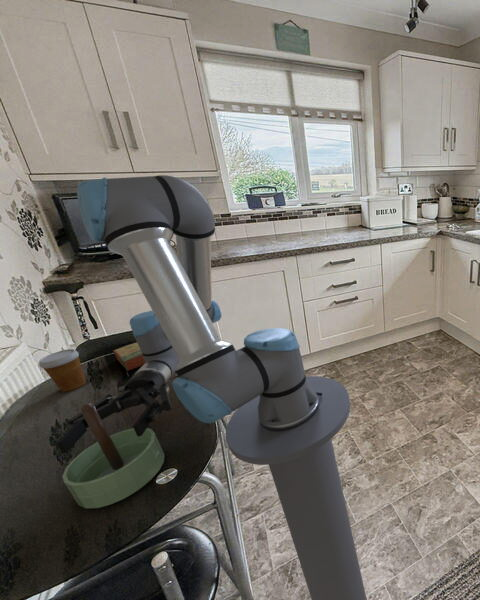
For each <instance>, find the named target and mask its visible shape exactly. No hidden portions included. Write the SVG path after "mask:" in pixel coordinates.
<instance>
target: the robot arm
mask: <svg viewBox="0 0 480 600" xmlns="http://www.w3.org/2000/svg"><path fill="white" fill-rule="evenodd" d="M76 196H77V197H76V198H77V203H78V208H79V212H80V216H81V220H82V222H83V225H84V228H85V231H86V233H87V235H88V237H89V238H90V240H91V241H92V242H94V243H103V242H104V243H105V245H106V246H107V249H108V251H110V252H111V253H113V254H117V255H121V256H122V257H123V259H124V261H125V263H126V265H127V267H128V268H129V270H130V272H131V274H132V276H133V277H134V280H135V282H136V283H137V286H138V287H139V289H140V291H141V293H142V294H143V296H144V298H145V299H146V302H147V303H148V305H149V307H150V309H151V310H149V311H143V312H141V313H138V314H136V315H134V316H132V317H131V318H130V319H129V325H130V326H129V327H130V329H131V331H132V336H133V337H134V339H135V340H136V342H137V343H138V345H139V347H140V350H141V352H142V355H143V357H144V360H145V364H144V365H142V366H140V368H139V369H138V370H137V371H136V372H135V373H134V374H133V375H132V376H131V377H130V378H129V380H127V382H126V383H125V385H124V388H123V391H122V392H120V393H119V394H118V395H116V396H112V394H111V393H110V394H106V395H105V396H104V397H102V398H101V400H99V401H96V403H95V402H94V403H93V405H94V407H95V409H96V411H97V412H98V414H99V416H100V418H101V420H102V421H103V420H104V419H105V418H108V417H110V416H112V415H113V414H115V413H116V414H118V413H121V412H122V411H124V410H126V409H130V408H132V407H138V406H140V405H144V406H145V407H146V408H145V409H144V410H143V412H142V414H141V415H139V417H138V419H137V420H136V421H135V423H134V424H133V426H132V428H134V430H135V432H136V434H137V436H142V435H143V433H144V432H145V430H146V429H147V428H148V427H149V426H150V424H151V423H152V422H154V421H156V419H157V417H158V416H159V415H160V414H162V413H163V412H164V411H166V412H168V411H171V410H173V407H172V403H171V400H170V397H169V395H170V393H171V390H170V387H169V385H168V382H169V381H170V379H171V378H172V377H173V376H174V374H175V373H176V375H177V377H176V378H175V379H174V380H173V381H172V385H171V386H172V389H173V391H174V393H175V395H176V397H177V399H178V400H179V401H180V403H181V404H182V405H183V406H184V408H185V409H186V410H187V411H188V412H189V413H190V414H191V415H192V416H193V417H194V418H195V419H197V420H198V421H199V422H201V423H204V424H213V423H216V422H217V421H220V420H221V419H223V418H225V417H227V416H230V415H232V413H234V412H235V411H236V410H237V409H238V408H239V407H241V406H243V405H244V404H246V403H248V402H249V401H251V400H253V399H254V398H256V397H257V396H259V395H260V400H259V405H258V408H259V411H258V417H259V420H260V423H261V425H262V427H264V428H265V429H267V430H270V431H285V430H290V429H293V428H296V427H298V426H300V425H302V424H304V423H305V422H307V421H308V420H310V419H311V418H312V417H313V416H314V415H315V413H316V412H317V410H318V408H319V400H318V396H322V393H319V392H315V391H314V389H313V388H312V386H311V385H310V383H309V382H308V381H307V379H306V377H307V375H306V372H305V367H304V363H303V358H302V355H301V350H300V344H299V341H298V339H297V338H298V337H297V335H296V333H294V331H292V330H290V329H288V328H283V327H273V328H271V327H270V328H265V329H260V330H256V331H254V332H251V333H249V334H248V335H246V336H245V337H244V339H243V345H244V346H243V347H241V348H239V349H236V348H235V346H234V344H233V343H232V342H228V341H225V340H222V337H221V336H220V335H219V333H218V331H217V329H216V327H215V325H214V323H217V322H219V321H220V320H221V319H222V311H221V308H220V306H219V304H218V303H217V302H216V300H214V299H212V298H213V297H212V296H213V295H212V241H211V240H212V239H211V238H212V237H213V236H214V234H215V233H216V221H215V217H214V212H213V210H212V208H211V206H210V204H209V202H208V201H207V199H206V197H204V195H203V194H202V193H201V192H200V191H199V190H198V189H197V188H196V187H195V186H193V185H192V184H190V183H189V182H188V181H186V180H184V179H182V178H179V177H176V176H173V175H164V174H162V175H161V174H160V175H149V176H147V175H146V176H131V177H130V176H129V177H111V178H108V177H102V178H99V179H85V180H83V181H81V182H79V184H77V188H76ZM174 236H175V242H176V251H177V254H176V251H175V249H174V248H173V246H172V244H171V241H172V239H173V238H174ZM159 395H160V398H161V401H162V402H159V401H158V400H156V398H157V397H158V396H159ZM317 395H318V396H317ZM117 402H118V404H119V405H120V406H119V405H118V404H117ZM65 423H66V425H67V427H68V429H67V430H66V432H65V433H63V435H62V436H61V438H60V439H58V441H56V443H55V444H56V446H57V448H58V450H59V451H60V452H61V454H67V453H68V452H69V451H70V450H71V449H72V448H73V447H74V445H76V443H77V442H78V441H79V440H80V439H81V438H82V437H83V436H84V435H85V434H86V433H87V431H88V428H90V427H89V425H88V423H87V421H86V420H85V418H84V416H83V414H82V412H81V411H80V412H79V413H77V414H75V415H74V416H73V417H71V418H69V419H68V420H66V421H65Z"/></svg>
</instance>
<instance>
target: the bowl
mask: <svg viewBox="0 0 480 600" xmlns="http://www.w3.org/2000/svg"><path fill="white" fill-rule="evenodd" d="M109 435H110V437H111V439H112V441H113V443H114V445H115V447H116V449H117V450H118V452H119V454H120V456H121V458H125V457H128V456H137V458H135V459H134V460H133V461H131V462H130V463H129V464H127V465H126V466H124V467H122V468H120V469H119V470H117V471H115V472H113V473H111V474H109V475H106V476H104V477H101V478H99V477H100V475H101V473H102V472H103V471H104V470H105V469H106V468H107V467H108V466H109V465H110V464H109V462H108V460H107V458H106V456H105V454H104V453H103V451H102V449H101V447H100V445H99V443H98V442H97V441H96V442H94V443H93V444H91V445H90V446H89V447H87V448H86V449H84V450H82V451H81V452H80V453H78V455H76V456H75V457H74V458H73V459H72V460H71V461H70V463H68V465H66V467H65V469H64V472H63V474H62V480H63V483H64V484H65V487H66V488H67V489H68V490H69V492H70V494H71V496H72V497H73V500H74V501H75V502H76V503H77V505H78V506H79V507H80V508H83V509H86V510H87V509H88V510H89V509H100V508H104V507H107V506H110V505H113V504H115V503H117V502H120V501H123V500H125V499H126V498H128V497H130V496H132V495H133V494H134V493H136V492H138V491H139V490H141V489H142V488H143V487H144V486H146V485H147V484H148V483H149V482H150V481H151V480H153V478H154V477H155V476H156V475H157V474H158V472H159V471H160V470H161V468H162V466H163V465H164V462H165V453H164V450H163V448H162V446H161V444H160V441H159V439H158V437H157V434H156V433H155V432H154V431H153V429H152V428H148V427H147V429H146V430H145V432H144V433H143V435H142V436H137V434H136V432H135V430H134V428H133V427H132V428H128V429H124V430H120V431H118V432H115V433H113V434H109Z"/></svg>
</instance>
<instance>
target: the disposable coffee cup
mask: <svg viewBox="0 0 480 600" xmlns="http://www.w3.org/2000/svg"><path fill="white" fill-rule="evenodd" d="M79 354H80V353H79V351H77V349H74V348H68V349H62V350H58V351H55V352H53V353H50V354H48V355H46V356H44V357H42V358H40V359H39V362H38V363H39V364H38V366H39V367H40V368H41V369H43V370H44V372H45V373H46V374H47V375H48V376H49V378H51V380H52V381H53V382H54V383H55V385H56V387H58V388H59V390H60V391H61V392H70V391H73V390H76V389H79V388H80V387H82V386H84V385H85V384H86V383H87V379H86V377H85V374H84V373H85V372H84V370H83V367H82V363H81V360H80V357H79ZM83 381H84V382H83Z"/></svg>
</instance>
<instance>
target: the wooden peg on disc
mask: <svg viewBox="0 0 480 600" xmlns="http://www.w3.org/2000/svg"><path fill="white" fill-rule="evenodd" d="M81 412H82V414H83V416H84V418H85V420H86V421H87V423H88V425H89V427H88V428H89V429H90V431H91V433H92V434H93V436H94V438H95V440H96V442H98V443H99V445H100V447H101V449H102V451H103V453H104V454H105V456H106V458H107V460H108V462H109V464H110V465H109V466H108V467H107V468H106V469H105V470H104V471H103V472H102V473H101V475H100V477H99V478H101V477H104V476H106V475H109V474H111V473H113V472H115V471H117V470H119V469H120V468H122V467H124V466H126V465H127V464H129V463H130V462H131V461H133V460H134V459H135V458H137V456H128V457H125V458H121V456H120V454H119V452H118V450H117V449H116V447H115V445H114V443H113V441H112V439H111V437H110V435H111V434H110V433H109V431H108V430H107V427H106V426H105V424H104V422H103V419H102V420H101V418H100V416H99V414H98V412H97V411H96V409H95V407H94V403H90V402H89V403H85V404H83V405H82V406H81V407H80V413H81Z"/></svg>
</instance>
